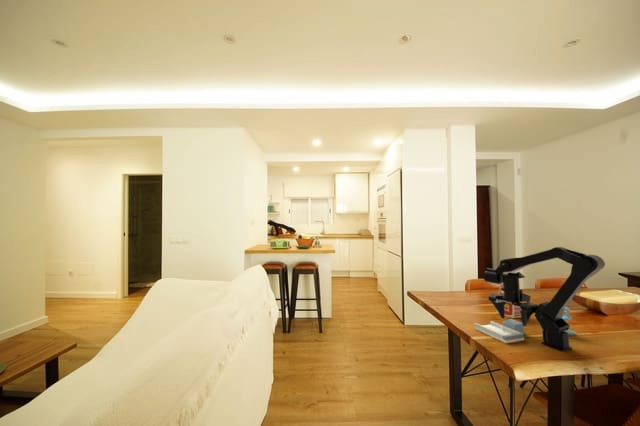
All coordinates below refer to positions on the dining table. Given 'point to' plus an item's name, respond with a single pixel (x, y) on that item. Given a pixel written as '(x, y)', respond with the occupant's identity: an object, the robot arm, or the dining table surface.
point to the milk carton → (510, 307)
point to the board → (500, 332)
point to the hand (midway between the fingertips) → (513, 322)
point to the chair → (568, 319)
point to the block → (514, 325)
